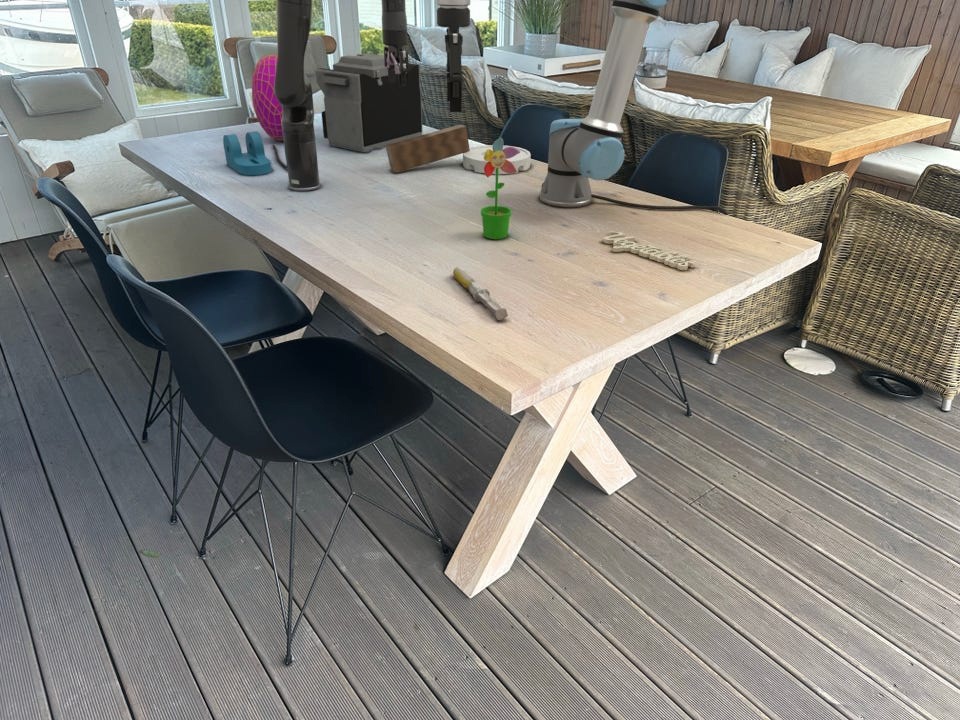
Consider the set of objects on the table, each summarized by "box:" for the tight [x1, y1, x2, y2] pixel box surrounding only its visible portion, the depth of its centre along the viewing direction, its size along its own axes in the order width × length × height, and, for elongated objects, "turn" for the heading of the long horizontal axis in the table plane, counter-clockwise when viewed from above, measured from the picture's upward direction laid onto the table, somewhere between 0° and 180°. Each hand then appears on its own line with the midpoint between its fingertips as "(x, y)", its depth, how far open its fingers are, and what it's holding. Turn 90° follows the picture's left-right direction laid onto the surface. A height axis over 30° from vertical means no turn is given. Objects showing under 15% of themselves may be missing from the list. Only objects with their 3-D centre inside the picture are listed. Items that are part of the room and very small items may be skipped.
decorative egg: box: [251, 54, 284, 142], centre depth 257 cm, size 19×19×30 cm
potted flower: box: [480, 137, 520, 240], centre depth 170 cm, size 9×8×25 cm
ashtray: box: [462, 144, 532, 175], centre depth 235 cm, size 23×23×4 cm
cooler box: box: [315, 53, 423, 153], centre depth 257 cm, size 37×22×30 cm, turn 144°
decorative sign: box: [603, 230, 695, 271], centre depth 167 cm, size 26×1×10 cm
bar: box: [384, 124, 471, 174], centre depth 230 cm, size 28×5×8 cm, turn 118°
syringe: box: [452, 266, 509, 321], centre depth 145 cm, size 25×4×3 cm, turn 21°
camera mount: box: [222, 131, 272, 176], centre depth 226 cm, size 18×10×10 cm, turn 35°
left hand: (397, 84), depth 215 cm, fingers open, 8 cm apart
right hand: (454, 106), depth 165 cm, fingers open, 13 cm apart
